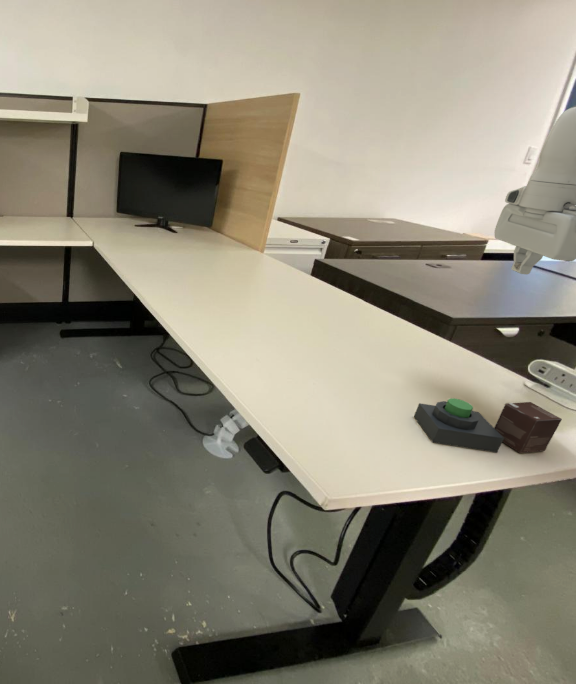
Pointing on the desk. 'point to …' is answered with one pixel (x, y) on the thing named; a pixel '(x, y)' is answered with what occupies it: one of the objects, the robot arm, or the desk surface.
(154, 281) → the desk surface
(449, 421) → the button base
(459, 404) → the green button cap
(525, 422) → the box
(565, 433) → the desk surface
